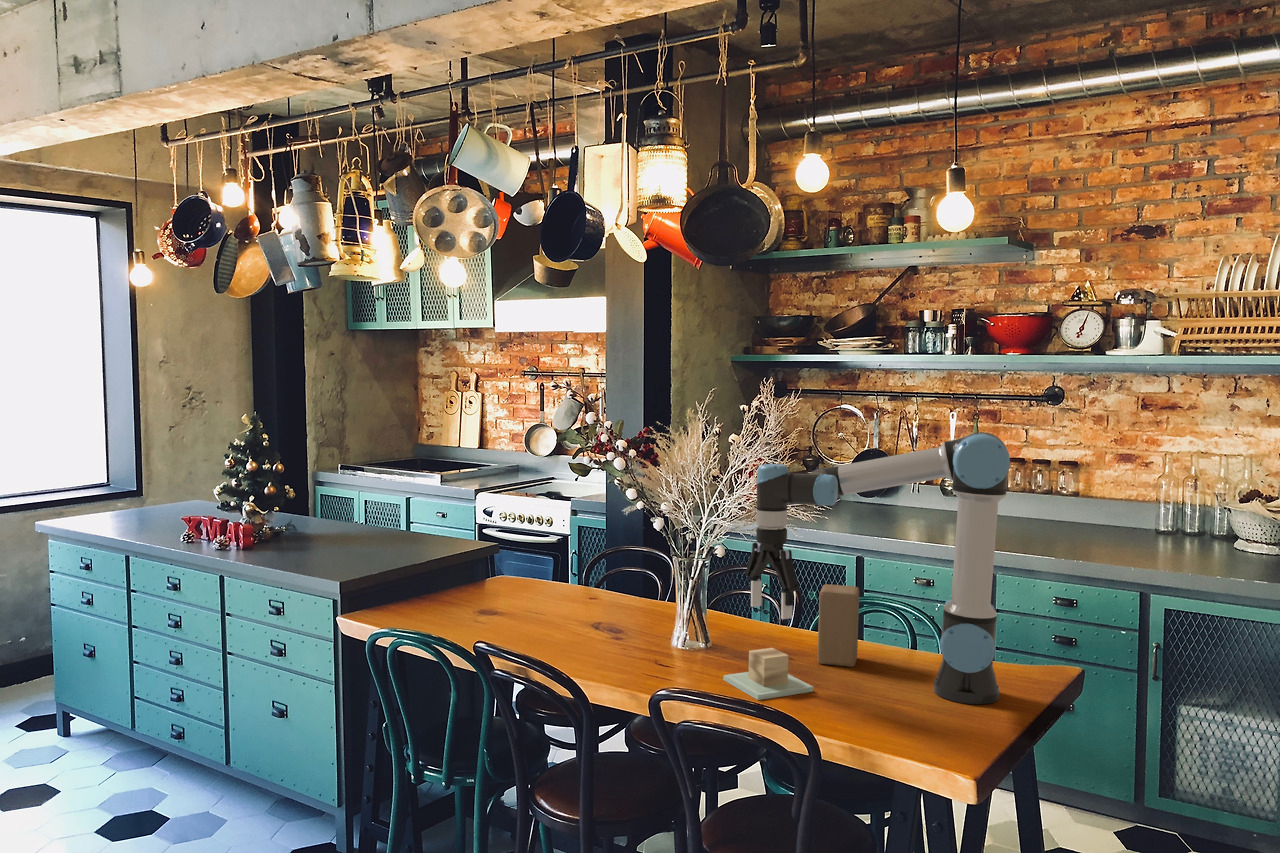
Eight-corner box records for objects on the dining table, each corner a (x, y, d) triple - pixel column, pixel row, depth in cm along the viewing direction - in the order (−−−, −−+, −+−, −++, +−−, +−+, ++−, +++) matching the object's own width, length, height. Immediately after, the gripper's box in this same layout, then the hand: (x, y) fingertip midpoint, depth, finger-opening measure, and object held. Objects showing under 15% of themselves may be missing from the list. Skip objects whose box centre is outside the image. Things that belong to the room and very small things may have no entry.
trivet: (813, 691, 230) (813, 686, 230) (757, 700, 223) (757, 694, 223) (776, 672, 244) (776, 667, 244) (723, 679, 238) (723, 675, 238)
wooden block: (857, 657, 259) (859, 586, 258) (855, 668, 249) (857, 593, 248) (820, 654, 262) (822, 583, 261) (816, 664, 252) (819, 590, 251)
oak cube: (787, 683, 232) (788, 655, 232) (763, 686, 229) (764, 658, 229) (771, 674, 238) (772, 647, 238) (748, 678, 235) (749, 650, 235)
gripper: (814, 533, 222) (813, 622, 223) (757, 519, 245) (756, 600, 246) (788, 535, 219) (787, 625, 220) (732, 521, 241) (731, 602, 242)
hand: (771, 612), depth 233 cm, fingers open, 13 cm apart
